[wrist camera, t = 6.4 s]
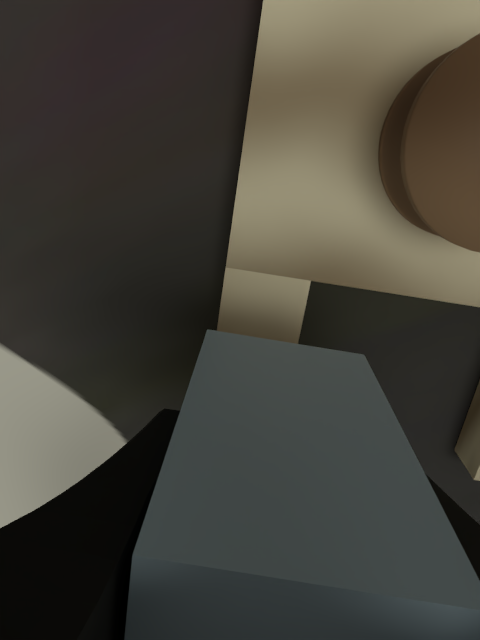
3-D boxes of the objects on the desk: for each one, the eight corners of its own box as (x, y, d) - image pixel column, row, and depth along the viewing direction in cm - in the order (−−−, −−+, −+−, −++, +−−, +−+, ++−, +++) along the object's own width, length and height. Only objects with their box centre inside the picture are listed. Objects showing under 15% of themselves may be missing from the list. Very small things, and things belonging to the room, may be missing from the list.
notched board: (521, 460, 20) (599, 551, 16) (207, 411, 20) (190, 488, 16) (709, 16, 15) (922, -52, 10) (273, -54, 15) (278, -155, 10)
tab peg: (329, 483, 13) (397, 821, 6) (188, 461, 13) (111, 776, 6) (364, 354, 12) (495, 612, 5) (207, 329, 12) (133, 554, 5)
